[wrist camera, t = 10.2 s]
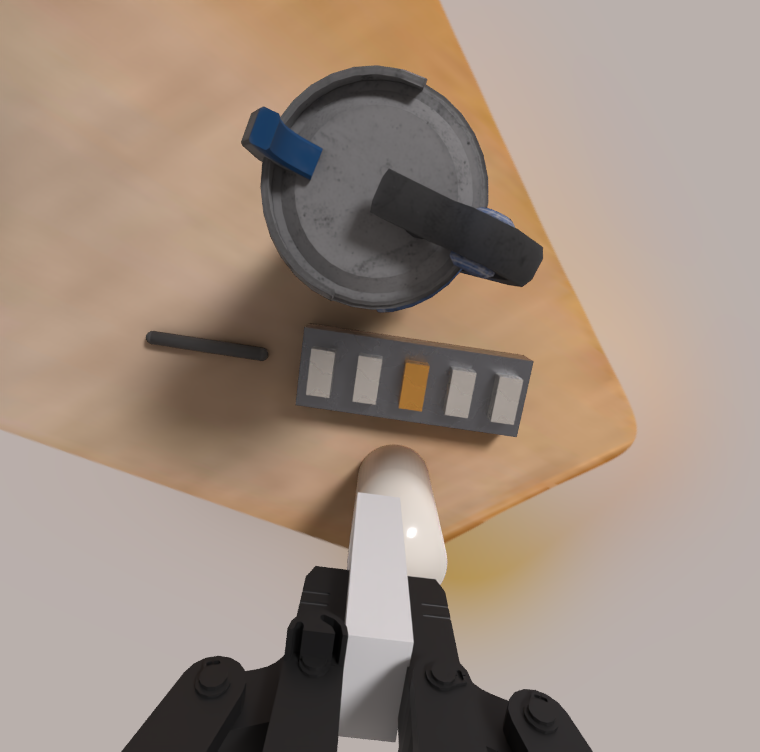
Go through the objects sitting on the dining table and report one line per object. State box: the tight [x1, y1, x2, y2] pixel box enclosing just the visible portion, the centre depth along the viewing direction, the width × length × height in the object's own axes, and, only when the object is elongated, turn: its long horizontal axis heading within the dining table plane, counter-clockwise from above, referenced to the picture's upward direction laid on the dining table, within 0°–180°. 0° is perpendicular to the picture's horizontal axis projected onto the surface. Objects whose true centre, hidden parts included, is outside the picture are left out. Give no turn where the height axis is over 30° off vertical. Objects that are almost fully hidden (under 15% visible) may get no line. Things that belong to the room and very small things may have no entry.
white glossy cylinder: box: [347, 445, 447, 584], centre depth 40 cm, size 7×7×14 cm
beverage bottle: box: [241, 65, 543, 312], centre depth 30 cm, size 10×13×25 cm
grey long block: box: [296, 323, 533, 437], centre depth 43 cm, size 20×7×5 cm, turn 82°
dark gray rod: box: [146, 331, 268, 361], centre depth 44 cm, size 11×1×1 cm, turn 81°
